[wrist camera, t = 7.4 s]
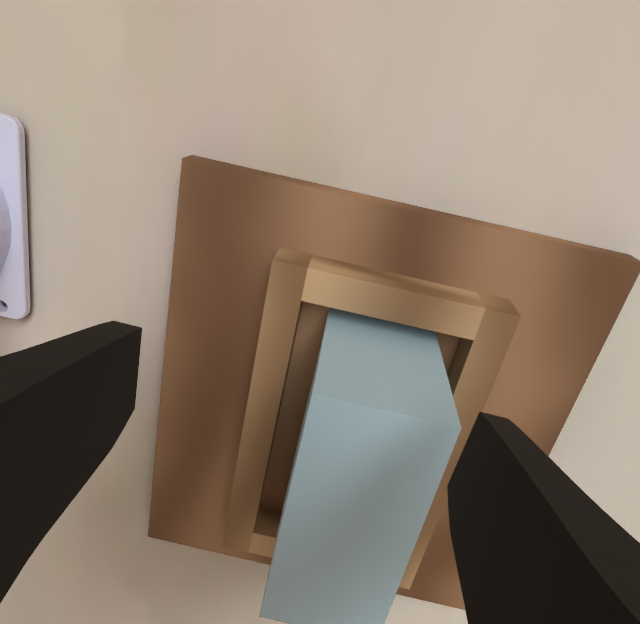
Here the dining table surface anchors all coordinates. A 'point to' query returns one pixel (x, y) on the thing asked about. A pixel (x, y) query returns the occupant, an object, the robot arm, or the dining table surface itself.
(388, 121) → the dining table surface
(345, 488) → the tall light blue prism
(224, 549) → the cradle
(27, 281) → the robot arm
